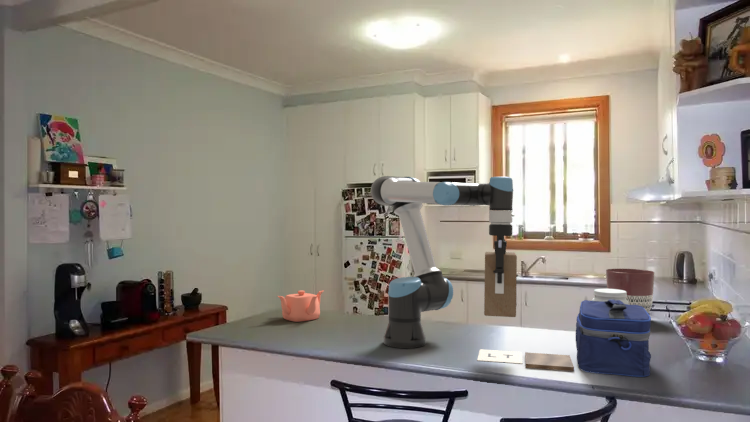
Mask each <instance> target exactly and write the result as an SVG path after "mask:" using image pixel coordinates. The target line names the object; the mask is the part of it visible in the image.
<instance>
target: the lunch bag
mask: <svg viewBox="0 0 750 422" xmlns="http://www.w3.org/2000/svg"><path fill="white" fill-rule="evenodd" d="M651 324H652V318H651V315H650V314H649V312H648V313H647V311H646V310H645V309H644V308H643V307H642V306H639V305H628V304H624V303H623V302H622V301H620V300H616V301H615V300H611V299H609V300H608V301H592V300H588V299H584V300H582V301H581V302H580V306H579V312H578V314H577V316H576V324H575V347H576V361H577V366H578V368H579V369H580V370H581V371H584V372H586V373H593V374H604V375H605V374H606V375H616V376H617V375H618V376H627V377H637V378H638V377H639V378H645V377H648V376H650V375H651V368H650V362H651V358H652V354H651V352H650V351H649V349H650V348H649V345H650V344H649V339H650V336H651V332H652V331H651V326H652V325H651Z"/></svg>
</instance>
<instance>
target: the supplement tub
mask: <svg viewBox="0 0 750 422" xmlns="http://www.w3.org/2000/svg"><path fill="white" fill-rule="evenodd" d="M593 295H594V297H593V298H592V300H591V301H608V300H609V299H611V300H615V301H616V300H620V301H622V302H623V303H624V304H628V305H629V302H628V300H627V299H626V297H627V292H626V291H624V290H618V289H607V288H595V289H593Z"/></svg>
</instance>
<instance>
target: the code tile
mask: <svg viewBox="0 0 750 422" xmlns="http://www.w3.org/2000/svg"><path fill="white" fill-rule="evenodd" d="M477 362H490V363H492V362H493V363H503V362H505V364H520V365H522V364H523V352H522V351H511V350H510V351H509V350H495V349H494V350H493V349H482V348H481V349H479V351H478V356H477Z"/></svg>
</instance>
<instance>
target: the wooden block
mask: <svg viewBox="0 0 750 422" xmlns="http://www.w3.org/2000/svg"><path fill="white" fill-rule="evenodd" d="M517 260H518V257H517V254H516V252H511V251H510V252H509V251H508V252H507V251H506V254H504V294H498V293H495V273H493V270H495V269H496V254H495V251H485V252H484V296H483V297H484V304H483V305H484V306H483V309H484V310H483V314H484V316H486V317H503V318H504V317H505V318H516V317H517V274H518V273H517V269H518V268H517V266H518V265H517V264H518V261H517Z"/></svg>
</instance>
